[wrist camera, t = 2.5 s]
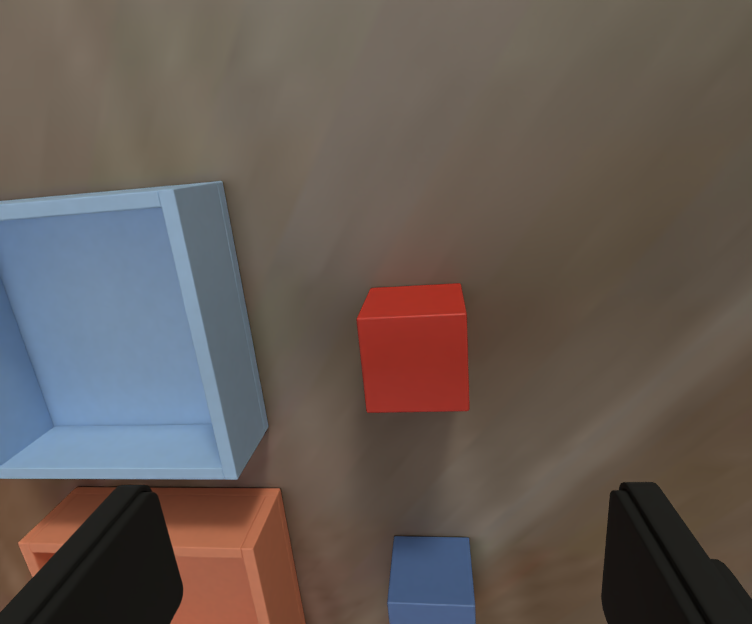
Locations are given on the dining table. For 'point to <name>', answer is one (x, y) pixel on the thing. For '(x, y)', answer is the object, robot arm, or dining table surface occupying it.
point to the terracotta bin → (204, 551)
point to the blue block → (431, 581)
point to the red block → (414, 349)
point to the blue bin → (125, 338)
